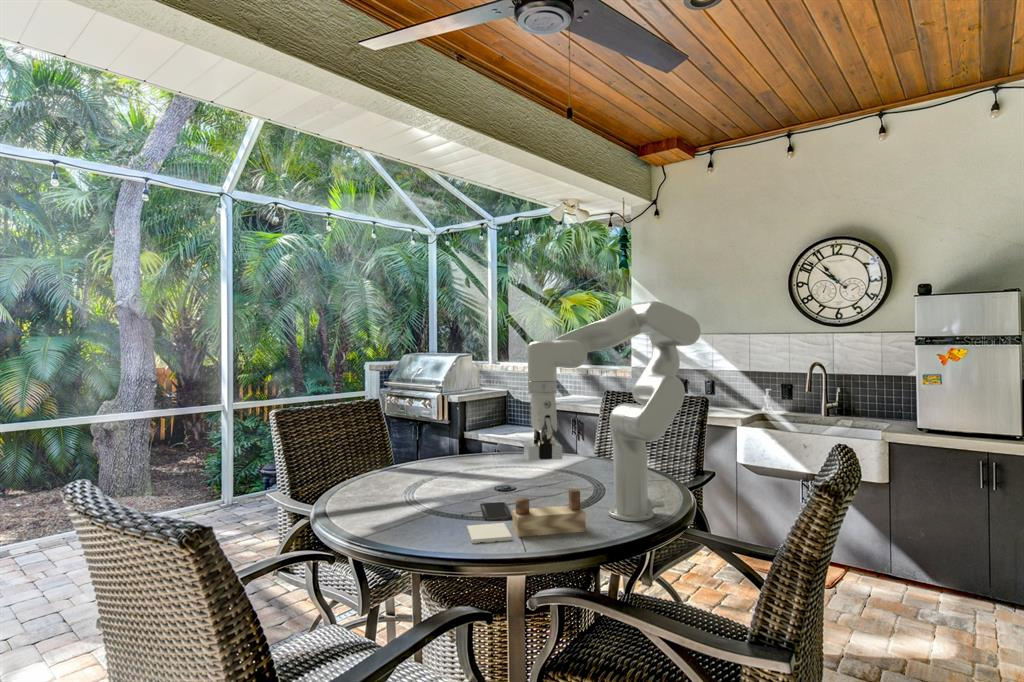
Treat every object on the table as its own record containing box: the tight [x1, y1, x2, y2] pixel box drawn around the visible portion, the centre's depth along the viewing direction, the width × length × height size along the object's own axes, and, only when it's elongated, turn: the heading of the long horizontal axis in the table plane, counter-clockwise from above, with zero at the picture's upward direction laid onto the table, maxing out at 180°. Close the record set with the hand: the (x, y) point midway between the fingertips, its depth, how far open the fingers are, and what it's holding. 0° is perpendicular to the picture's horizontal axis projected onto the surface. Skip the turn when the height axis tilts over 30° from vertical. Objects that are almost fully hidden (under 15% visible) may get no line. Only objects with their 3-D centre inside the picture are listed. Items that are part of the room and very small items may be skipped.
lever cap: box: [523, 439, 563, 462], centre depth 152 cm, size 9×6×4 cm, turn 101°
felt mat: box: [466, 522, 513, 544], centre depth 149 cm, size 10×11×1 cm
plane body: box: [511, 488, 587, 538], centre depth 152 cm, size 18×7×10 cm, turn 101°
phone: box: [479, 501, 513, 521], centre depth 169 cm, size 8×1×15 cm
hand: (542, 455), depth 152 cm, fingers closed on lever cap, 5 cm apart
